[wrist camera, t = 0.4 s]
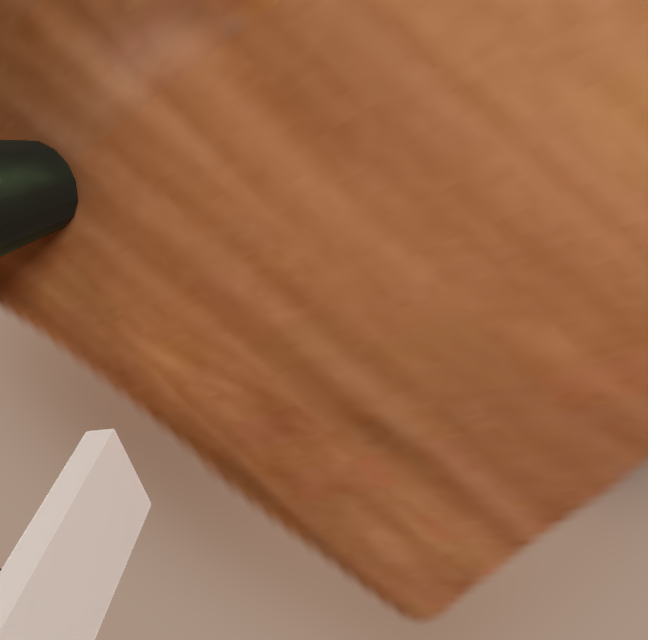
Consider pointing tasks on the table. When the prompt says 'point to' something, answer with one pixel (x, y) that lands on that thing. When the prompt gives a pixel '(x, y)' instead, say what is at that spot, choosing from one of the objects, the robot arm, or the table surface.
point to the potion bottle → (33, 193)
